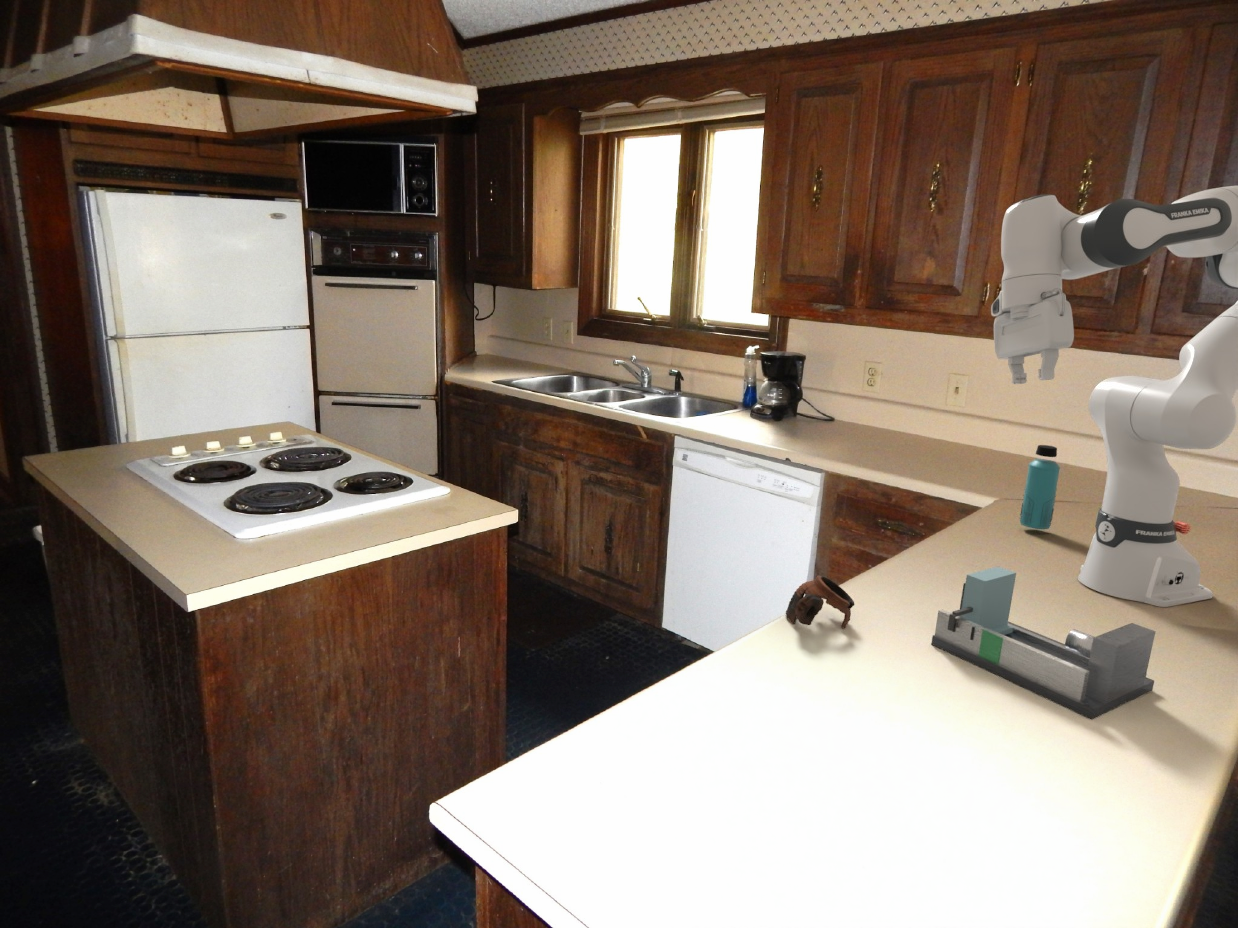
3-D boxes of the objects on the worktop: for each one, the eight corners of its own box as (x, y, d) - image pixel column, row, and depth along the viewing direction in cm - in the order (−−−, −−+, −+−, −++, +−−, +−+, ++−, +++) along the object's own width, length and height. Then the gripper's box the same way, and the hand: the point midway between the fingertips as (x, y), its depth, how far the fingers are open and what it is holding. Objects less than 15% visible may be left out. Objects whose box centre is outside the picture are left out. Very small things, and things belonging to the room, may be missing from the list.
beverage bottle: (1053, 537, 180) (1069, 450, 175) (1021, 534, 181) (1036, 447, 176) (1044, 528, 186) (1059, 444, 181) (1013, 525, 187) (1027, 441, 183)
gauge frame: (931, 644, 122) (939, 586, 120) (993, 624, 131) (1002, 569, 129) (1091, 719, 103) (1105, 651, 101) (1152, 690, 111) (1166, 626, 109)
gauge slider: (932, 635, 121) (941, 577, 119) (983, 619, 128) (992, 564, 126) (962, 649, 117) (971, 588, 115) (1012, 632, 124) (1022, 574, 122)
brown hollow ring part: (791, 606, 136) (820, 568, 134) (835, 644, 132) (866, 606, 130) (767, 611, 125) (799, 571, 123) (814, 653, 121) (848, 612, 119)
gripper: (1085, 284, 121) (1086, 376, 121) (1023, 306, 141) (1023, 385, 142) (1042, 286, 121) (1043, 378, 122) (986, 308, 142) (987, 386, 142)
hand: (1032, 382), depth 132 cm, fingers open, 8 cm apart
